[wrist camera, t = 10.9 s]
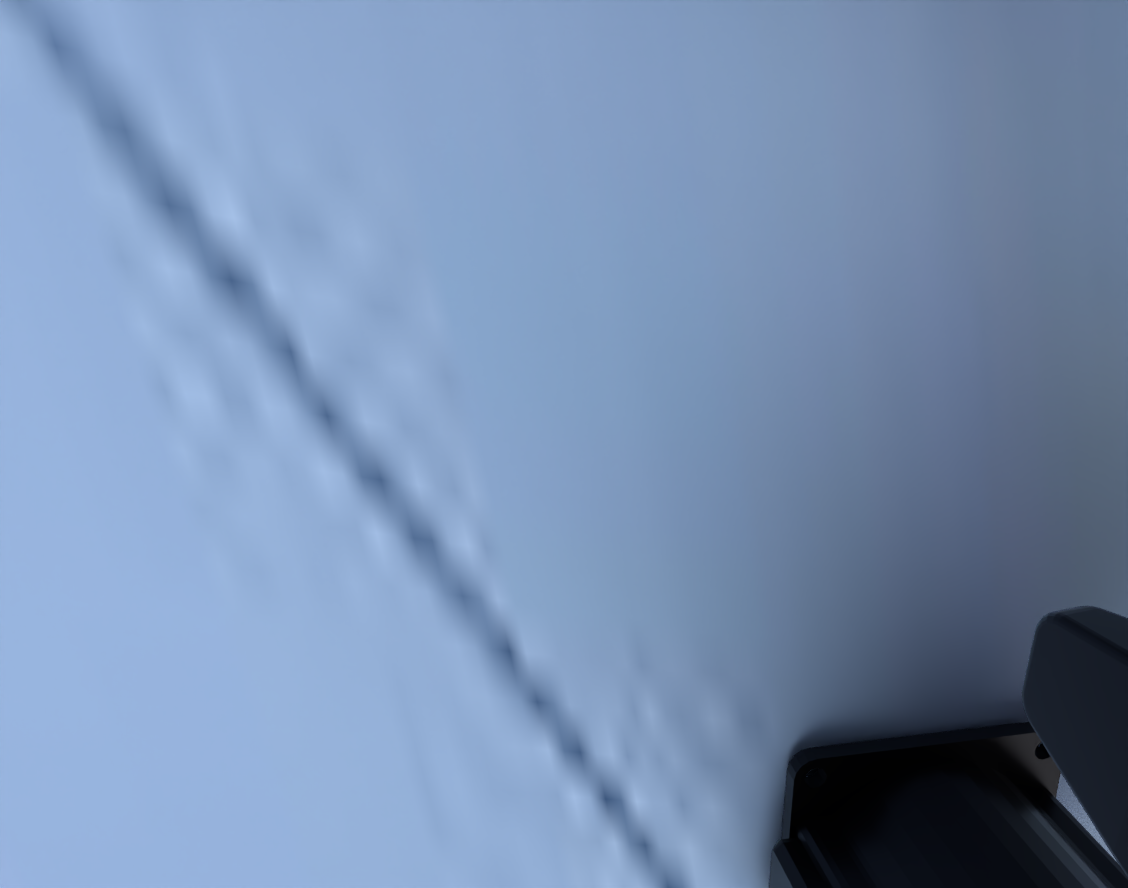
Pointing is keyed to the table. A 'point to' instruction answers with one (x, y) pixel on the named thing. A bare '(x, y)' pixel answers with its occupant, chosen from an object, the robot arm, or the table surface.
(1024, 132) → the table surface
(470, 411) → the table surface
